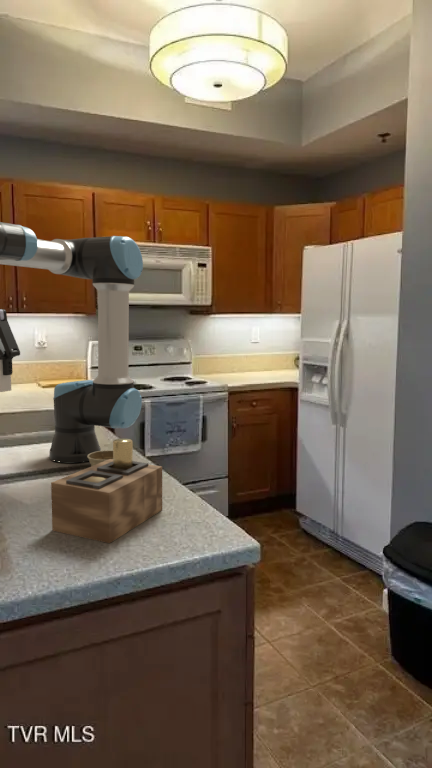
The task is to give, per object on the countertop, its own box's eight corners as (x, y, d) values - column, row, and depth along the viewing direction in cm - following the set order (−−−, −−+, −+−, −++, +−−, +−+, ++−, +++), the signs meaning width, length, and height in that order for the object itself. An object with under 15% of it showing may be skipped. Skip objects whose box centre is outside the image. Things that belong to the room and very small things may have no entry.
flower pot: (80, 488, 138) (79, 454, 136) (111, 480, 144) (110, 448, 143) (102, 497, 131) (102, 462, 130) (133, 488, 138) (133, 454, 137)
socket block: (110, 500, 129) (110, 456, 128) (162, 509, 123) (162, 463, 122) (52, 530, 111) (50, 479, 110) (109, 543, 105) (108, 489, 104)
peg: (120, 473, 123) (120, 437, 122) (136, 475, 122) (136, 439, 121) (109, 478, 120) (109, 441, 118) (125, 481, 118) (125, 443, 117)
